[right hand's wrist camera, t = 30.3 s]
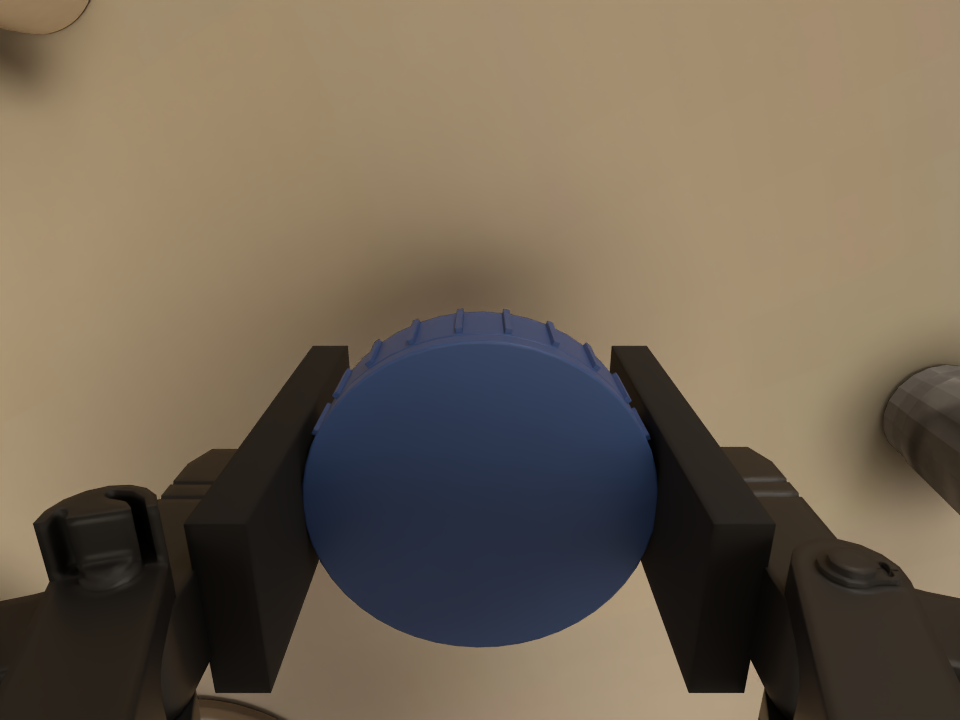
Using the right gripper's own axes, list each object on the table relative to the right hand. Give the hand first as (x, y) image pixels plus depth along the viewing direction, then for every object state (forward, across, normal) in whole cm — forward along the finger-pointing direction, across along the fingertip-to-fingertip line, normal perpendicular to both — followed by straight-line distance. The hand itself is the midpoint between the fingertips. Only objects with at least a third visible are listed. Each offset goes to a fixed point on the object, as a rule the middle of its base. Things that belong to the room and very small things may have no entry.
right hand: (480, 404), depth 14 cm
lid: (-4, 0, 0) cm, 4 cm away
